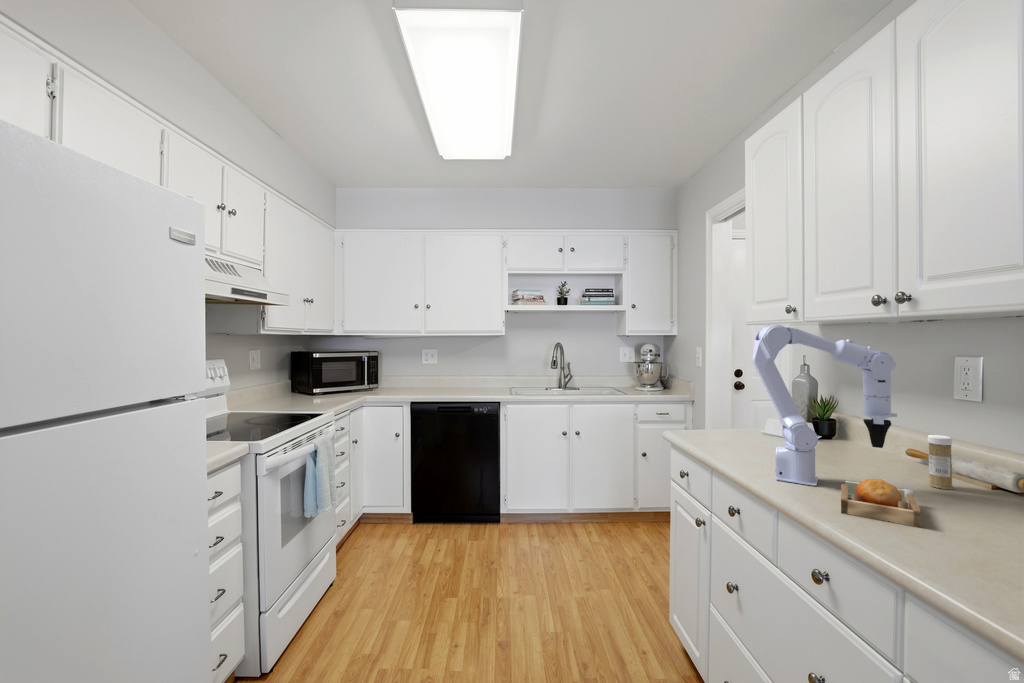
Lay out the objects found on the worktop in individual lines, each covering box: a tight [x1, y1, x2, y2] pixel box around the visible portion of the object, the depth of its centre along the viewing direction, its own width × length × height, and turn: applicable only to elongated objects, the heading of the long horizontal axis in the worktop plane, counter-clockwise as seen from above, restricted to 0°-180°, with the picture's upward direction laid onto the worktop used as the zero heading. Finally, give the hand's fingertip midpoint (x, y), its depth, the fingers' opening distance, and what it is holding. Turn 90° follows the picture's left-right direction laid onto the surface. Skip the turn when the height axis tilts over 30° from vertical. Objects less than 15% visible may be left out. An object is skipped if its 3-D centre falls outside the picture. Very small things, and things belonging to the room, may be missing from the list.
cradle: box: [840, 483, 923, 528], centre depth 100 cm, size 13×13×4 cm
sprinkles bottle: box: [927, 434, 953, 490], centre depth 115 cm, size 5×5×14 cm
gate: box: [844, 480, 916, 502], centre depth 106 cm, size 13×2×3 cm, turn 51°
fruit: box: [856, 478, 902, 508], centre depth 100 cm, size 8×8×8 cm
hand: (877, 447), depth 116 cm, fingers closed
